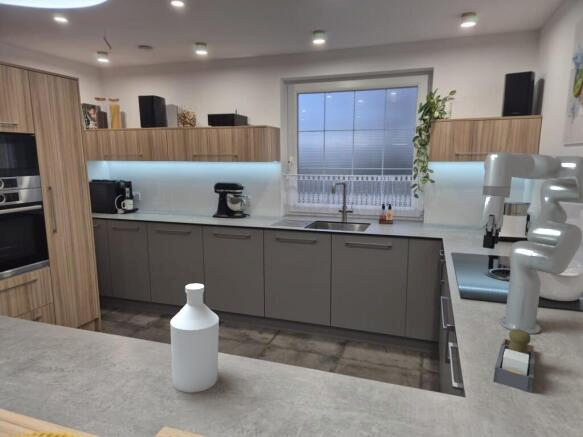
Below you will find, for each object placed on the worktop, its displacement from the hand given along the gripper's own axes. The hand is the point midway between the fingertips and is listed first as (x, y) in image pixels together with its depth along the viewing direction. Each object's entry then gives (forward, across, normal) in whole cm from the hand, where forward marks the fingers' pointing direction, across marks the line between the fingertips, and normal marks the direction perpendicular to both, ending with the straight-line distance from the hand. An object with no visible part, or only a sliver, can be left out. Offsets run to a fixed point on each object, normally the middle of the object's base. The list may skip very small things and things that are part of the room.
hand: (490, 245), depth 118 cm
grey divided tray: (+32, +16, +11) cm, 38 cm away
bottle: (+32, +72, -57) cm, 97 cm away
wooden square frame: (+32, +2, +11) cm, 34 cm away
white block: (+32, +20, +11) cm, 40 cm away
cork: (+32, +12, +11) cm, 36 cm away
